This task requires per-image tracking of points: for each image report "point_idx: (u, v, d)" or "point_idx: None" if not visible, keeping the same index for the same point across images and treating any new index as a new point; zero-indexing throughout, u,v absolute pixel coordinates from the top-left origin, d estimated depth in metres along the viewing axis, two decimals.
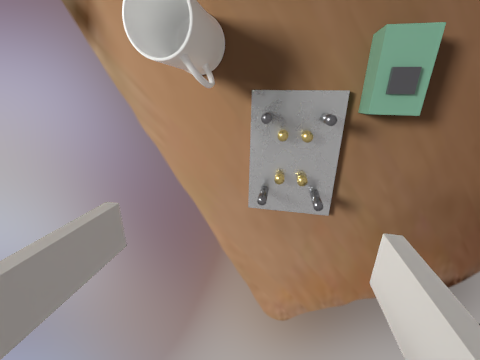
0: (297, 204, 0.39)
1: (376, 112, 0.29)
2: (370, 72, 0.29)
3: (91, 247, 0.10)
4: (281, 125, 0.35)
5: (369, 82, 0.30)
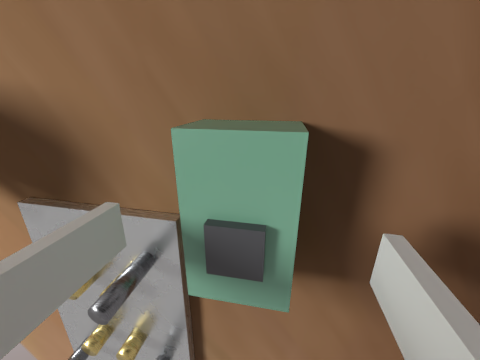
0: None
1: (202, 294, 0.13)
2: None
3: (91, 247, 0.10)
4: None
5: None
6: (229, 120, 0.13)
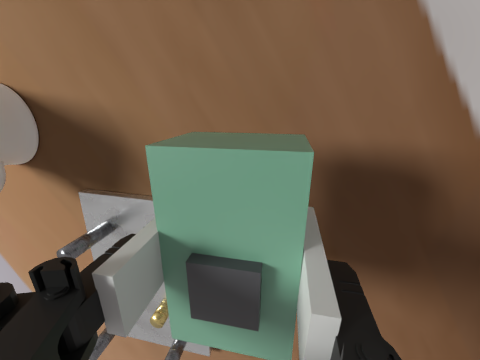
0: (168, 338, 0.27)
1: (188, 338, 0.11)
2: None
3: None
4: None
5: None
6: (221, 133, 0.12)
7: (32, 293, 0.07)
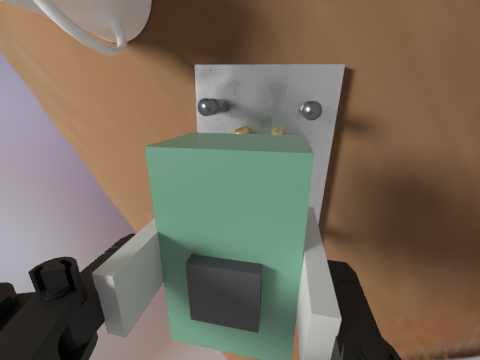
0: None
1: (188, 339, 0.11)
2: None
3: None
4: (241, 120, 0.23)
5: None
6: (221, 134, 0.12)
7: (32, 293, 0.07)
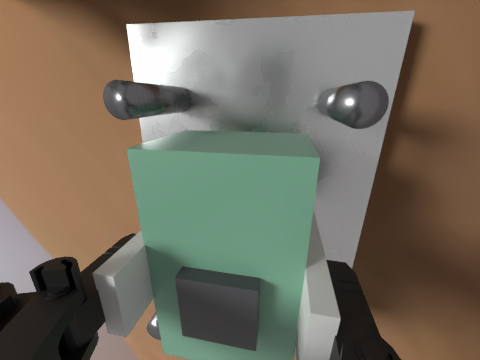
0: None
1: (181, 354, 0.10)
2: None
3: None
4: (214, 124, 0.13)
5: None
6: (215, 132, 0.10)
7: (33, 293, 0.07)
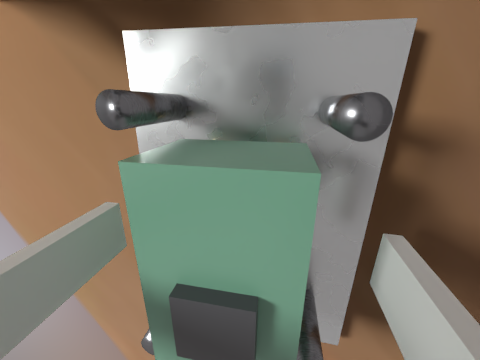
0: None
1: None
2: None
3: (91, 247, 0.10)
4: (211, 132, 0.13)
5: None
6: (212, 141, 0.10)
7: None
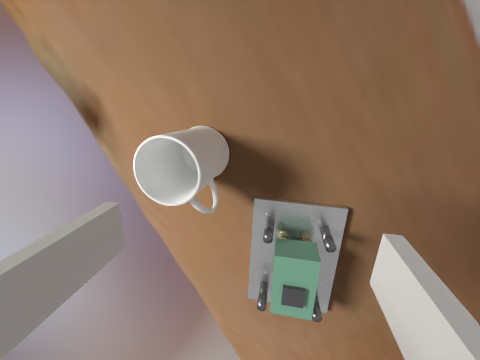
0: None
1: (276, 312, 0.33)
2: None
3: (91, 247, 0.10)
4: (282, 231, 0.36)
5: None
6: (287, 241, 0.33)
7: None
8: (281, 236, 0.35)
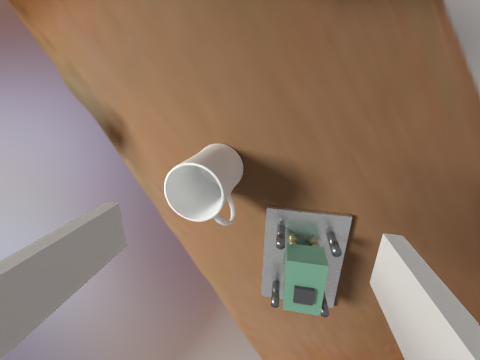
0: None
1: (288, 309, 0.37)
2: None
3: (91, 247, 0.10)
4: (292, 236, 0.39)
5: (284, 281, 0.38)
6: (297, 246, 0.37)
7: None
8: (291, 241, 0.39)
